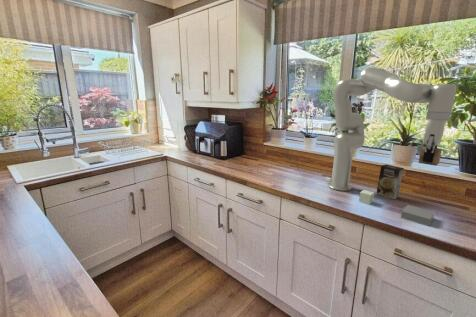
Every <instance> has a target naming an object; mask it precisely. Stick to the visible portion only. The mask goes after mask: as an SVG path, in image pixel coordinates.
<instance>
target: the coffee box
mask: <svg viewBox="0 0 476 317" xmlns="http://www.w3.org/2000/svg"><path fill="white" fill-rule="evenodd" d="M404 170H405V169H404V167H399V166H396V165H390V164H383V165H381V166H380V170H379V177H378V181H377V182H378V183H377V186H376V187H377V189H376V193H375V194H376V195H377V196H380V197H381V196H382V197H384V198H386V199H387V198H388V199H390V200H396V199H397V198H398V197H399V196H400V195H399V194H400V190H401V185H402V181H403V180H402V179H403V173H404Z"/></svg>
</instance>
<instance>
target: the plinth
mask: <svg viewBox="0 0 476 317" xmlns="http://www.w3.org/2000/svg"><path fill="white" fill-rule="evenodd" d="M400 214H401V215H400V218H402V219H405V220H408V221H411V222H415V223H418V224H422V225H424V226H428V227H429V226H430V225H431V222H432V221H433V220H434V215H435V211H433V210H429V209H425V208H421V207H418V206H413V205H410V204H407V205H406V206H405V207H404V209H402V211H401V213H400Z"/></svg>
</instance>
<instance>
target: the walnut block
mask: <svg viewBox="0 0 476 317" xmlns="http://www.w3.org/2000/svg"><path fill="white" fill-rule="evenodd" d="M425 149H426V146H423V147H421V149H420V153H419V158H418V164H423V165H429V166H437V165H439V164H440V160H441V155H442V151H443V149H442V148H438V147H437V148H435V149H434V157H433V162H432V163H429V162H423V156H424V152H425ZM432 149H433V148H432Z"/></svg>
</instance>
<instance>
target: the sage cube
mask: <svg viewBox="0 0 476 317" xmlns="http://www.w3.org/2000/svg"><path fill="white" fill-rule="evenodd" d="M358 197H359V198H358V202H359V203H363V204H365V205H366V204H367V205H371V204H372V203H373V202H374V197H375V192H374V191H370V190H366V189H363V190H362V191H360V192H359V196H358Z"/></svg>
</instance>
